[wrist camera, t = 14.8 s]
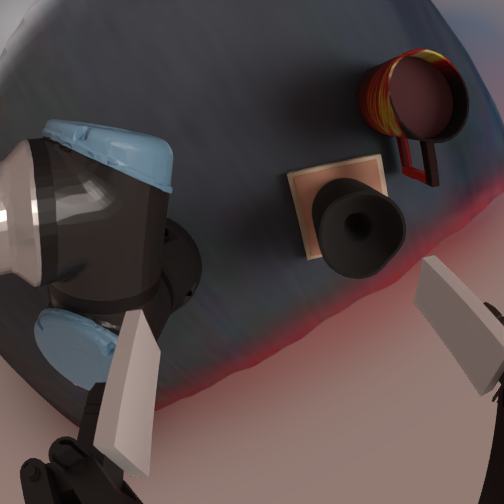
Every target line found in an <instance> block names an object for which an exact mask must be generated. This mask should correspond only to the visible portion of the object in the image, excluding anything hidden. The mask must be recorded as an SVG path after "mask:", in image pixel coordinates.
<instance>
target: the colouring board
mask: <svg viewBox="0 0 504 504" xmlns="http://www.w3.org/2000/svg"><path fill="white" fill-rule="evenodd" d="M287 177H288V181H289V185H290V189H291V193H292V197H293V201H294V205H295V209H296V213H297V217H298V221H299V225H300V230H301V234H302V238H303V243H304V247H305V251H306V256H307V260H310V259H314V258H319V257H323V256H322V254H321V251H320V248H319V244H318V240H317V236H316V232H315V229H314V224H313V219H312V204H313V201H314V198H315V196H316V194H317V193H318V191H319V190H320V189H321V188H322V187H323V186H324V185H325V184H327V183H328V182H330V181H332V180H335V179H338V178H352V179H355V180H358V181H360V182H362V183H365V184H366V185H368V186H370V187H372V188H373V189H375V190H377V191H379V192H380V193H382V194H384V195H386V196H387V197H388V194H387V188H386V181H385V175H384V169H383V164H382V158H381V154H378V153H377V154H372V155H367V156H361V157H356V158H352V159H347V160H342V161H337V162H332V163H328V164H323V165H319V166H314V167H310V168H306V169H301V170H297V171H293V172H289V173H287Z"/></svg>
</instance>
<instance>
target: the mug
mask: <svg viewBox="0 0 504 504" xmlns="http://www.w3.org/2000/svg"><path fill="white" fill-rule="evenodd" d="M355 101H356V105H357V109H358V111H359V114H360V115H361V117H362V119H363V120H364V121H365V122H366V124H367V125H368V126H369V127H371V128H372V129H373V130H375V131H377V132H379V133H381V134H384V135H388V136H395V137H396V139H397V143H398V149H399V154H400V159H401V165H402V173H403V174H404V175H406V176H408V177H411V178H413V179H417V180H419V181H421V182H423V183H425V184H427V185H429V186H431V187H436V186H439V175H438V167H437V160H436V154H435V147H434V143H443V142H446V141H449V140H451V139H452V138H454V137H455V136H457V135H458V134H459V132H460V131H461V130H462V129H463V127H464V125H465V123H466V120H467V118H468V113H469V96H468V91H467V88H466V85H465V82H464V80H463V78H462V76H461V74H460V73H459V71H458V70H457V69H456V67H455V66H454V65H453V64H452V63H451V62H450V61H449V60H448V59H446V58H445V57H443V56H442V55H440V54H438V53H436V52H434V51H430V50H426V49H415V50H411V51H408V52H406V53H403V54H401V55H399V56H397V57H395V58H393V59H391V60H388V61H386V62H384V63H382V64H380V65H378V66H376V67H374V68H372V69H370V70H369V71H367V72H366V73H365V74H364V75H363V76H362V77H361V78H360V80H359V82H358V84H357V87H356V92H355ZM407 139H413V140H419V141H420V145H421V150H422V156H423V163H424V169H425V172H424V171H421V170H419V169H416V168H414V167H412V162H411V156H410V150H409V145H408V140H407Z"/></svg>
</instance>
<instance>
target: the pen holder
mask: <svg viewBox="0 0 504 504" xmlns="http://www.w3.org/2000/svg"><path fill="white" fill-rule="evenodd" d="M312 219H313V224H314V229H315V232H316V236H317V240H318V244H319V248H320V251H321V254H322V256H323V258H324V260H325V262H326V263H327V264H328V265H329V267H330V268H331V269H333V270H334V271H335V272H337V273H338V274H340V275H343V276H345V277H349V278H355V279H361V278H367V277H371V276H373V275H375V274H377V273H378V272H379V271H380V270H382V269H383V268H384V267H385V265H386V264H387V263H388V262H389V261H390V260H391V259H392V257H393V256H394V255H395V254H396V253H397V252H398V250H399V249H400V248H401V246H402V244H403V243H404V240H405V236H406V224H405V219H404V216H403V214H402V212H401V210H400V208H399V207H398V206H397V204H396V203H395V202H394V201H393V200H391V199H390V198H389V197H387V196H386V195H384V194H382V193H380V192H379V191H377V190H375V189H373V188H372V187H370V186H368V185H366V184H365V183H362V182H360V181H358V180H355V179H352V178H338V179H335V180H332V181H330V182H328V183H327V184H325V185H324V186H323V187H322V188H321V189H320V190H319V191H318V193H317V194H316V196H315V198H314V201H313V204H312Z"/></svg>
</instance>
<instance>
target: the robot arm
mask: <svg viewBox="0 0 504 504" xmlns="http://www.w3.org/2000/svg"><path fill="white" fill-rule="evenodd" d="M42 135H43V136H44V137H43V138H40V139H27V140H22V141H20V142H19V144H18V145H17V146H16V147H15V148H14V149H13V150H12V152H11V153H10V154H9V155H8V156H7V158H6V159H5V160H3V161H1V162H0V275H3V274H8V273H14V274H16V275H18V276H20V277H21V278H22V279H24V280H25V281H27V282H28V283H29V284H31V285H32V286H34V287H36V286H42V285H46V284H48V292H49V300H50V301H49V306H48V308H46V309H45V310H43V311H41V312H40V314H39V317H38V319H37V321H36V323H35V326H34V335H35V339H36V342H37V345H38V347H39V349H40V351H41V352H42V354H43V355H44V357H45V358H46V359H47V361H48V362H49V363H50V364H51V365H52V366H53V367H54V368H55V369H56V370H57V371H58V372H60V373H61V374H62V375H63V376H64V377H66V378H67V379H68V380H70V381H71V382H73V383H75V384H76V385H78V386H80V387H82V388H84V389H87V390H89V393H88V397H87V401H86V406H85V408H84V415H83V416H82V421H81V425H80V429H79V434H78V438H77V441H76V440H75V439H74V438H71V437H69V436H68V437H61V438H58V439H57V440H56V441H54V442H53V443H52V445H51V447H50V449H49V460H50V462H51V463H47V464H45V463H43V462H42V461H41V460H39V459H36V458H30V459H28V460H27V461H25V462H24V464H23V465H22V467H21V470H20V479H21V485H22V490H23V495H24V500H25V504H143V503H142V502H141V500H140V499H139V498H138V497H137V495H136V494H135V493H134V492H133V491H132V489H131V488H130V487H129V485H128V484H127V483H126V482H125V481H124V480H123V473H124V472H125V473H127V474H128V475H129V476H130V477H149V469H150V467H149V466H150V453H151V439H152V426H153V415H154V405H155V395H156V386H157V378H158V369H159V361H160V354H161V352H160V350H159V347H158V345H157V341H158V339H159V336H160V334H161V332H162V330H163V328H164V326H165V324H166V322H167V320H168V318H169V315H170V314H172V313H173V312H175V311H176V310H178V309H179V308H180V307H182V306H183V305H185V304H186V303H187V302H188V301H189V300H190V298H191V297H192V296H193V294H194V293H195V291H196V288H197V286H198V284H199V281H200V278H201V272H202V263H201V257H200V254H199V251H198V248H197V246H196V244H195V242H194V241H193V239H192V238H191V236H190V235H189V234H188V233H187V232H186V231H185V230H184V229H183V228H182V227H181V226H180V225H178V224H177V223H175V222H174V221H172V220H170V219H168V218H166V216H167V207H168V199H169V194H171V193H172V187H171V176H172V167H173V152H172V149H171V147H170V146H169V144H168V143H167V142H166V141H164V140H163V139H161V138H158V137H155V136H151V135H148V134H143V133H139V132H134V131H130V130H125V129H120V128H114V127H109V126H103V125H97V124H91V123H84V122H76V121H66V120H56V119H52V120H49V121H48V122H47V123H46V125H45V128H44V129H43V130H42ZM414 303H415V305H416V306H417V307H418V309H419V310H420V311H421V312H422V314H423V315H424V316H425V318H426V319H427V320H428V322H429V323H430V324H431V326H432V327H433V328H434V329H435V331H436V332H437V334H438V335H439V336H440V338H441V339H442V341H443V342H444V343H445V345H446V346H447V348H448V349H449V350H450V352H451V353H452V355H453V356H454V357H455V359H456V360H457V362H458V363H459V365H460V366H461V368H462V369H463V370H464V372H465V374H466V375H467V377H468V378H469V380H470V381H471V383H472V384H473V386H474V387H475V389H476V390H477V392H478V393H479V395H480V396H483V395H484V394H486V393H488V392H490V391H491V390H493V388H494V387H495V385H496V384H497V382H498V381H499V382H500V383H501V386H500V388H499V389H498V391H497V392H496V394H495V395H494V397H493V399H492V402H494V401H495V399H496V398H497V397H498V401H497V403H498V407H497V415H496V423H495V430H494V437H493V443H492V449H491V454H490V459H489V464H488V468H487V473H486V477H485V481H484V485H483V489H482V492H481V496H480V499H479V502H478V504H504V317H502V314H501V313H500V312H499V311H498V310H497V309H496V308H495V307H493V306H492V305H490V304H489V303H487V302H485V303H482V302H481V301H480V300H479V299H478V298H477V297H476V296H475V295H474V294H473V292H472V291H471V290H470V289H469V288H468V287H467V286H466V285H465V284H464V283H463V282H462V281H461V280H460V279H459V278H458V277H457V276H455V275H454V273H453V272H452V271H450V270H449V269H448V268H447V267H446V266H445V265H444V264H443V263H442V262H441V261H440V260H439V259H438V258H437V257H436V256H429V257H425V258H423V259H422V265H421V270H420V276H419V281H418V286H417V291H416V295H415V300H414Z"/></svg>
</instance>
